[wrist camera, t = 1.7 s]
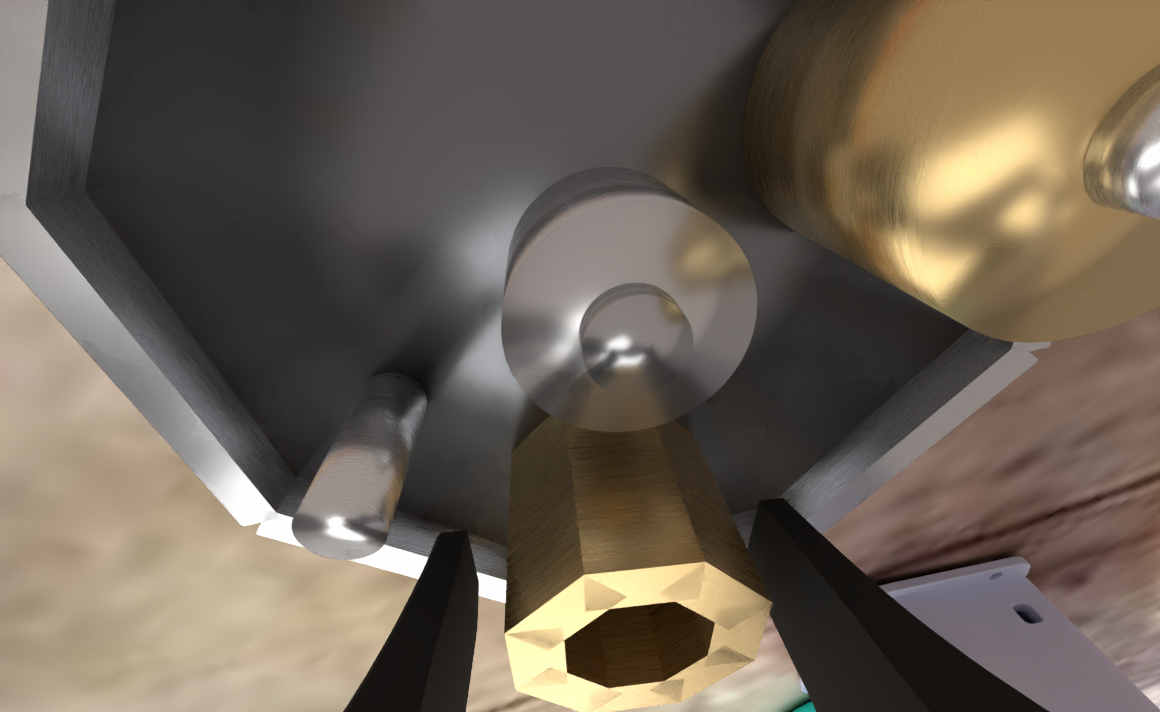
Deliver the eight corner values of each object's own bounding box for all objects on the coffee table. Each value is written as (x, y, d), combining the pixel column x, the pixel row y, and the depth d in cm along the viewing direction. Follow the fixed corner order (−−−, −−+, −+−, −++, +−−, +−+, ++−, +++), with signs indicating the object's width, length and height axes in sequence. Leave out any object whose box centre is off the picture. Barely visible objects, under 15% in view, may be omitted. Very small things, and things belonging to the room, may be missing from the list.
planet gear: (699, 391, 13) (789, 552, 8) (682, 521, 15) (743, 693, 11) (505, 407, 12) (494, 584, 8) (523, 537, 15) (521, 723, 11)
